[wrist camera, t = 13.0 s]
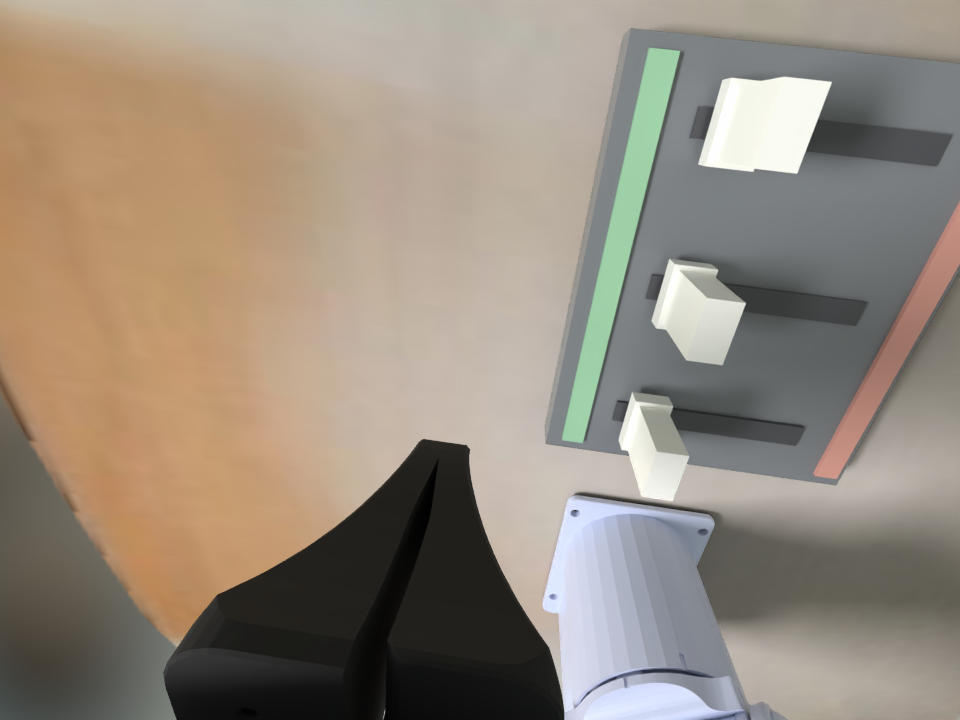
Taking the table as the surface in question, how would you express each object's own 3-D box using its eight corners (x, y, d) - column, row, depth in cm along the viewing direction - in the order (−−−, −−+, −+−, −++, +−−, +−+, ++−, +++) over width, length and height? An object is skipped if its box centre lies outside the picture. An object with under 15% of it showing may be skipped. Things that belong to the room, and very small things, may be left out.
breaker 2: (743, 169, 17) (801, 182, 13) (698, 164, 17) (743, 175, 13) (771, 85, 16) (843, 73, 12) (722, 79, 16) (779, 66, 12)
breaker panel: (819, 465, 24) (838, 488, 23) (545, 426, 25) (546, 446, 23) (1028, 79, 16) (1078, 74, 15) (623, 35, 17) (632, 27, 15)
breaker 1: (652, 444, 22) (676, 505, 19) (618, 439, 22) (635, 499, 19) (668, 396, 21) (696, 452, 17) (632, 392, 21) (653, 446, 17)
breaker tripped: (690, 325, 19) (726, 371, 16) (651, 320, 20) (678, 364, 16) (711, 263, 18) (755, 297, 15) (669, 258, 18) (703, 291, 15)
